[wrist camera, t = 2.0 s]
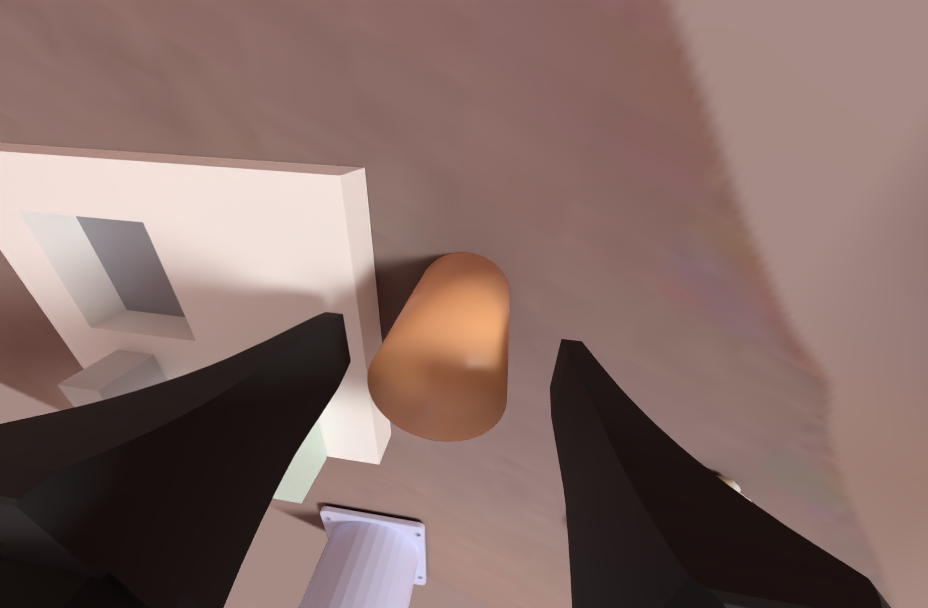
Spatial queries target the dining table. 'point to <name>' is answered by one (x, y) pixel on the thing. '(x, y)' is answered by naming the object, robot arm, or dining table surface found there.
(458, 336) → the peg
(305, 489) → the block
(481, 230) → the dining table surface
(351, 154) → the dining table surface
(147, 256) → the housing
